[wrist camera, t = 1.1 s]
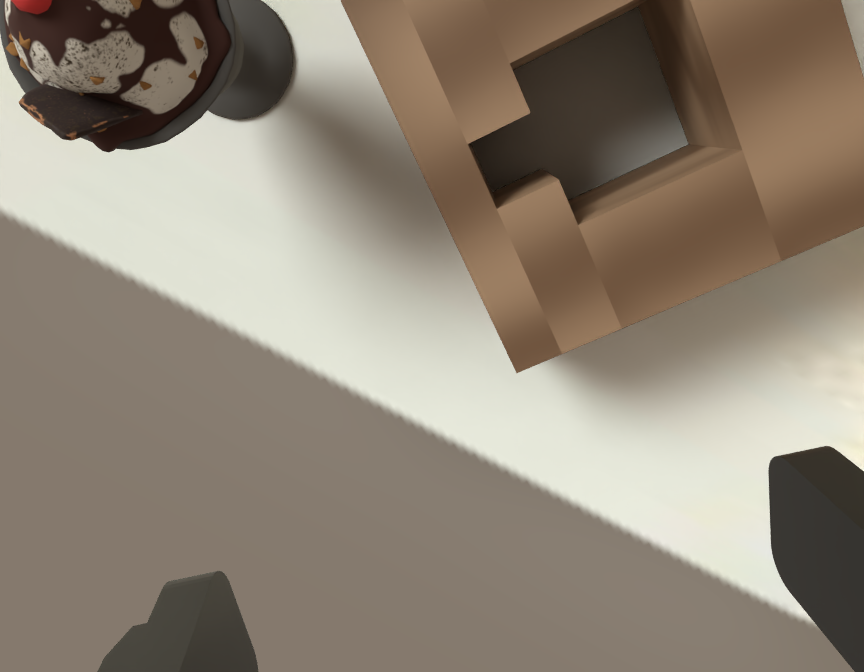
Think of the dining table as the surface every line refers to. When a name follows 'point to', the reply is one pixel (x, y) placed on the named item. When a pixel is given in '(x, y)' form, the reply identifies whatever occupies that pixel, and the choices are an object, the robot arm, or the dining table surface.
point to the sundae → (143, 64)
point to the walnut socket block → (645, 186)
